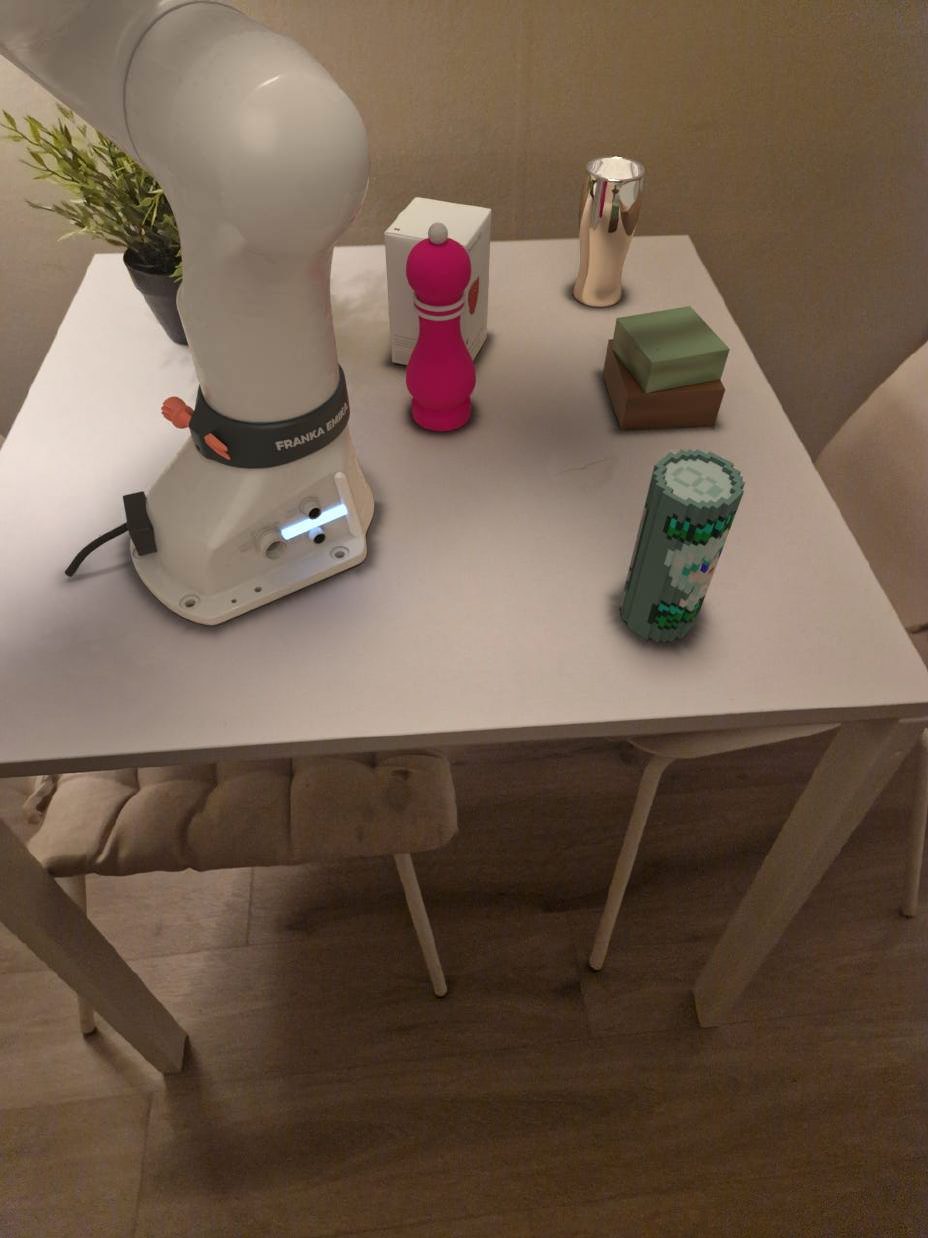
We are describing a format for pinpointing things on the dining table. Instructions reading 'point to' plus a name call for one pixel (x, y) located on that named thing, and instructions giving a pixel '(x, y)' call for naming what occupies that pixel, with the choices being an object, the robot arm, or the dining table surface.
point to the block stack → (665, 370)
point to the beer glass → (606, 227)
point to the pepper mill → (439, 333)
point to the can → (679, 542)
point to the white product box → (400, 238)
